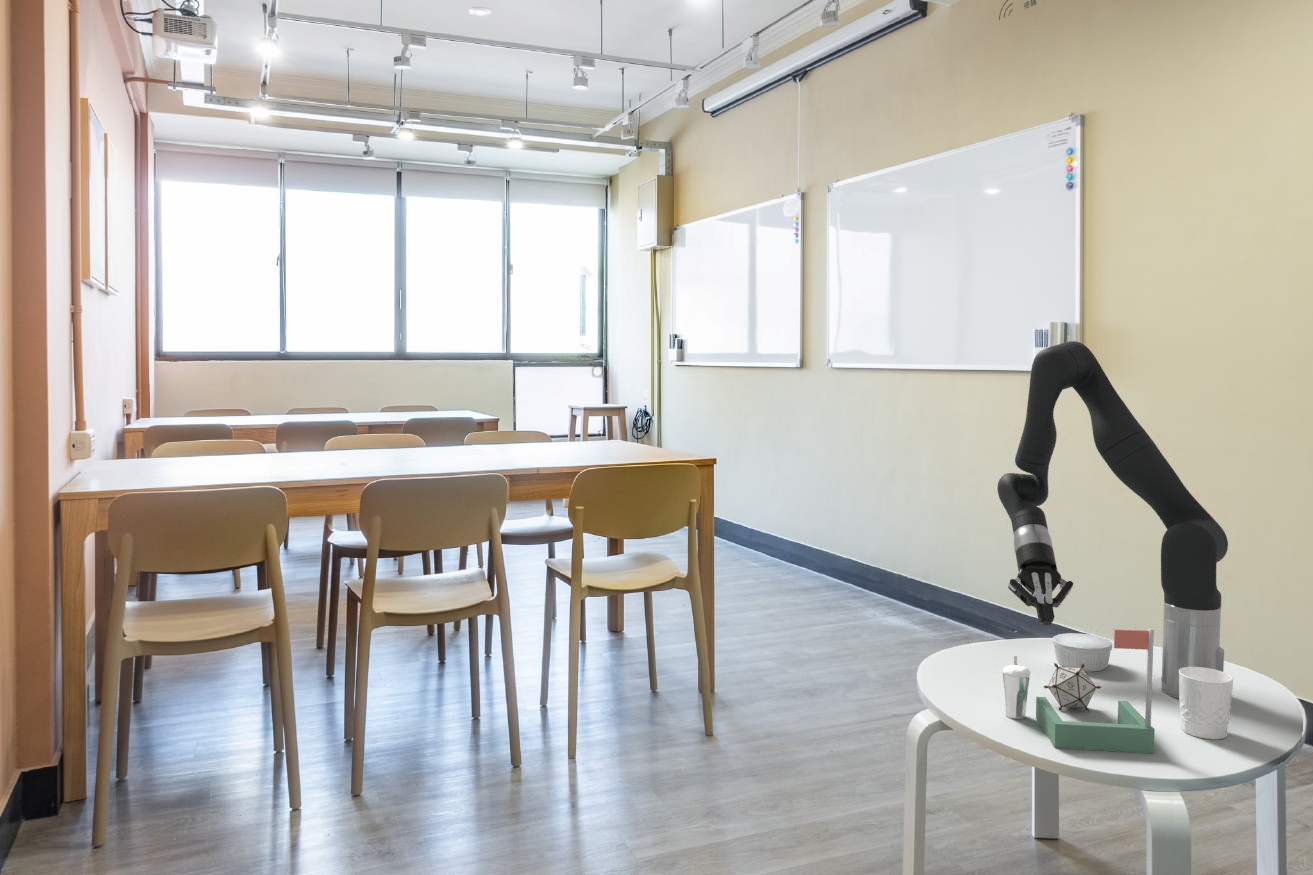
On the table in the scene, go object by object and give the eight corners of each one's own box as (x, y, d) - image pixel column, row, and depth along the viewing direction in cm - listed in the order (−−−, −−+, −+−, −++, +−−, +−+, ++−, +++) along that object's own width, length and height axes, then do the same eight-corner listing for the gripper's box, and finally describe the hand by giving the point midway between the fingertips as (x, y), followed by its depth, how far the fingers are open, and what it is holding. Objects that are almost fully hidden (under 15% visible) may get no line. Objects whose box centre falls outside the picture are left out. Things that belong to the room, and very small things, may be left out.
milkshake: (1028, 711, 162) (1029, 656, 161) (1030, 722, 157) (1031, 666, 156) (1001, 708, 164) (1002, 654, 163) (1002, 719, 159) (1003, 663, 158)
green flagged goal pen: (1126, 723, 156) (1130, 610, 155) (1153, 753, 144) (1157, 631, 142) (1035, 718, 159) (1038, 607, 157) (1054, 747, 146) (1057, 627, 145)
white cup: (1231, 745, 147) (1233, 685, 146) (1175, 735, 151) (1177, 677, 150) (1230, 728, 153) (1233, 671, 153) (1177, 719, 158) (1179, 663, 157)
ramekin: (1042, 664, 188) (1043, 640, 187) (1065, 653, 195) (1066, 629, 195) (1098, 677, 179) (1099, 652, 179) (1119, 665, 187) (1120, 640, 187)
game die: (1074, 724, 165) (1098, 677, 167) (1091, 725, 157) (1116, 676, 159) (1028, 697, 167) (1053, 651, 169) (1043, 696, 159) (1069, 648, 161)
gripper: (1004, 540, 189) (1015, 612, 178) (1070, 541, 187) (1086, 615, 176) (998, 559, 195) (1009, 631, 184) (1063, 561, 193) (1078, 633, 181)
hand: (1047, 623), depth 180 cm, fingers closed
